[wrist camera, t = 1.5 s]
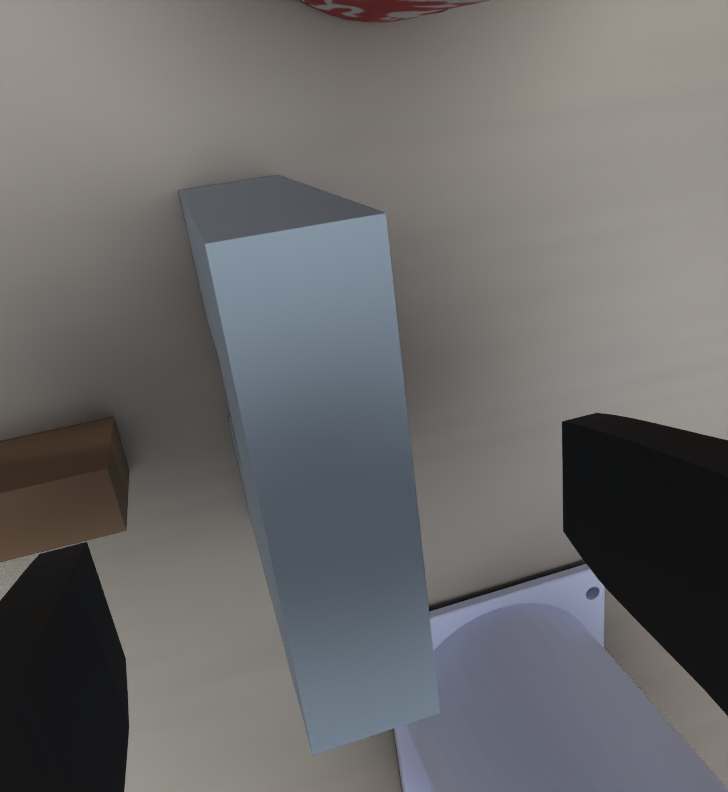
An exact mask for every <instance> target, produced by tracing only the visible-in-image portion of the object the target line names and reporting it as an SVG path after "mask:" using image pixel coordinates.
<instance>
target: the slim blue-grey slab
mask: <svg viewBox="0 0 728 792" xmlns="http://www.w3.org/2000/svg"><path fill="white" fill-rule="evenodd" d="M178 191H179V196H180V200H181V205H182V209H183V214H184V218H185V223H186V228H187V232H188V237H189V241H190V246H191V250H192V255H193V260H194V264H195V269H196V273H197V278H198V282H199V287H200V292H201V296H202V301H203V305H204V310H205V314H206V318H207V322H208V325H209V328H210V331H211V334H212V338H213V341H214V344H215V347H216V351H217V354H218V359H219V363H220V368H221V372H222V377H223V382H224V386H225V391H226V395H227V400H228V405H229V409H230V414H231V416H230V417H228V419H229V424H230V428H231V433H232V438H233V442H234V447H235V451H236V456H237V460H238V465H239V470H240V474H241V479H242V483H243V488H244V492H245V497H246V501H247V506H248V511H249V515H250V519H251V523H252V527H253V530H254V534H255V538H256V542H257V546H258V549H259V553H260V557H261V561H262V565H263V568H264V572H265V576H266V580H267V584H268V587H269V591H270V595H271V599H272V603H273V606H274V610H275V614H276V618H277V622H278V625H279V629H280V633H281V637H282V641H283V644H284V648H285V652H286V656H287V660H288V663H289V667H290V671H291V675H292V679H293V682H294V686H295V690H296V694H297V698H298V701H299V705H300V709H301V713H302V717H303V720H304V724H305V728H306V732H307V736H308V739H309V743H310V747H311V751H312V755H313V756H314V755H317V754H320V753H323V752H326V751H329V750H332V749H335V748H338V747H341V746H344V745H347V744H349V743H352V742H355V741H358V740H361V739H364V738H367V737H370V736H373V735H376V734H379V733H382V732H385V731H388V730H391V729H394V728H397V727H400V726H403V725H406V724H409V723H412V722H415V721H418V720H421V719H424V718H427V717H430V716H433V715H436V714H438V713H440V708H439V699H438V690H437V681H436V672H435V662H434V653H433V644H432V635H431V625H430V616H429V607H428V598H427V589H426V579H425V570H424V561H423V552H422V542H421V533H420V524H419V515H418V505H417V496H416V487H415V478H414V469H413V459H412V450H411V441H410V432H409V422H408V413H407V404H406V395H405V386H404V376H403V367H402V358H401V349H400V339H399V330H398V321H397V312H396V303H395V293H394V284H393V275H392V266H391V256H390V247H389V238H388V229H387V220H386V213H384V212H382V211H379V210H376V209H373V208H370V207H367V206H365V205H362V204H359V203H356V202H353V201H351V200H348V199H345V198H342V197H339V196H336V195H334V194H331V193H328V192H325V191H322V190H320V189H317V188H314V187H311V186H308V185H305V184H303V183H300V182H297V181H294V180H291V179H288V178H286V177H283V176H280V175H275V176H268V177H262V178H255V179H249V180H242V181H236V182H229V183H223V184H216V185H209V186H203V187H196V188H190V189H183V190H178Z"/></svg>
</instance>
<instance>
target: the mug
mask: <svg viewBox="0 0 728 792" xmlns="http://www.w3.org/2000/svg"><path fill="white" fill-rule="evenodd" d="M302 1H304V2H305V3H307V4H309V5H311V6H313V7H315V8H317V9H319V10H321V11H323V12H326V13H328V14H330V15H334V16H338V17H342V18H346V19H350V20H357V21H364V22H388V21H397V20H404V19H410V18H414V17H418V16H422V15H426V14H434V13H440V12H444V11H446V10H448V9H450V8H456V7H460V6H465V5H470V4H475V3H479V2H484V1H488V0H302Z"/></svg>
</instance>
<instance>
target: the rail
mask: <svg viewBox="0 0 728 792" xmlns="http://www.w3.org/2000/svg"><path fill="white" fill-rule="evenodd" d="M128 487H129V469H128V466H127V462H126V459H125V455H124V452H123V448H122V445H121V441H120V438H119V435H118V431H117V428H116V424H115V421H114V417H111V418H107V419H102V420H98V421H93V422H88V423H84V424H79V425H75V426H70V427H65V428H61V429H56V430H52V431H47V432H42V433H38V434H33V435H29V436H24V437H20V438H15V439H10V440H6V441H1V442H0V562H3V561H7V560H11V559H15V558H19V557H23V556H27V555H31V554H35V553H39V552H43V551H47V550H51V549H55V548H59V547H63V546H67V545H71V544H75V543H78V542H82V541H86V540H90V539H94V538H98V537H102V536H106V535H110V534H114V533H118V532H122V531H126V526H127V506H128Z"/></svg>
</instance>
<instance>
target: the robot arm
mask: <svg viewBox="0 0 728 792" xmlns="http://www.w3.org/2000/svg"><path fill="white" fill-rule="evenodd" d="M562 457H563V531H564V533H565V534H566V536H567V537H568V539H569V540H570V541H571V543H572V544H573V546H574V547H575V549H576V550H577V552H578V553H579V554H580V556H581V557H582V559H583V560H584V561H585V563H586V564H584V565H581V566H577V567H574V568H571V569H567V570H564V571H561V572H558V573H554V574H551V575H548V576H544V577H541V578H538V579H535V580H531V581H528V582H525V583H521V584H518V585H515V586H512V587H508V588H505V589H502V590H498V591H495V592H492V593H488V594H485V595H482V596H479V597H475V598H472V599H469V600H465V601H462V602H459V603H456V604H452V605H449V606H446V607H442V608H439V609H436V610H433V611H429V616H430V625H431V635H432V644H433V653H434V662H435V672H436V681H437V690H438V699H439V708H440V713H438V714H436V715H433V716H430V717H427V718H424V719H421V720H418V721H415V722H412V723H409V724H406V725H403V726H400V727H397V728H394V735H395V742H396V748H397V755H398V762H399V769H400V776H401V783H402V790H403V792H728V789H727V787H726V786H725V785H724V784H723V783H722V782H721V781H720V780H719V778H718V777H717V776H716V775H715V774H714V773H713V772H712V770H711V769H710V768H709V767H708V766H707V765H706V764H705V762H704V761H703V760H702V759H701V758H700V757H699V756H698V755H697V753H696V752H695V751H694V750H693V749H692V748H691V747H690V745H689V744H688V743H687V742H686V741H685V740H684V739H683V737H682V736H681V735H680V734H679V733H678V732H677V731H676V730H675V728H674V727H673V726H672V725H671V724H670V723H669V722H668V720H667V719H666V718H665V717H664V716H663V715H662V714H661V712H660V711H659V710H658V709H657V708H656V707H655V706H654V705H653V703H652V702H651V701H650V700H649V699H648V698H647V697H646V695H645V694H644V693H643V692H642V691H641V690H640V689H639V687H638V686H637V685H636V684H635V683H634V682H633V681H632V680H631V678H630V677H629V676H628V675H627V674H626V673H625V672H624V670H623V669H622V668H621V667H620V666H619V665H618V664H617V662H616V661H615V660H614V659H613V658H612V657H611V656H610V655H609V653H608V652H607V651H606V650H605V649H604V601H605V588H606V589H607V590H608V591H609V592H610V593H611V594H612V595H613V596H614V597H615V598H616V599H617V600H618V601H619V602H620V603H621V604H622V605H623V606H624V608H625V609H626V610H627V611H628V612H629V613H630V614H631V615H632V616H633V617H634V618H635V619H636V620H637V621H638V622H639V623H640V624H641V625H642V626H643V627H644V628H645V629H646V630H647V631H648V632H649V633H650V634H651V635H652V636H653V637H654V638H655V639H656V641H657V642H658V643H659V644H660V645H661V646H662V647H663V648H664V649H665V650H666V651H667V652H668V653H669V654H670V655H671V656H672V657H673V658H674V659H675V660H676V661H677V662H678V663H679V664H680V665H681V666H682V667H683V668H684V669H685V670H686V671H687V672H688V673H689V674H690V675H691V676H692V677H693V678H694V679H695V680H696V682H697V683H698V684H699V685H700V686H701V687H702V688H703V689H704V690H705V691H706V692H707V693H708V694H709V695H710V697H711V698H712V699H713V700H714V701H715V702H716V703H717V704H718V705H719V707H720V708H721V709H722V710H723V711H724V712H725V713H726V714H727V716H728V440H723V439H719V438H715V437H711V436H706V435H702V434H698V433H694V432H690V431H685V430H681V429H677V428H673V427H669V426H664V425H660V424H656V423H651V422H647V421H642V420H638V419H633V418H628V417H623V416H617V415H610V414H602V413H594V414H590V415H586V416H582V417H578V418H575V419H571V420H567V421H563V422H562ZM590 588H591V590H590V591H588V590H589V589H590ZM587 591H588V592H587ZM128 734H129V715H128V691H127V674H126V658H125V655H124V652H123V649H122V646H121V643H120V640H119V637H118V634H117V631H116V628H115V625H114V622H113V619H112V616H111V613H110V610H109V607H108V604H107V601H106V598H105V595H104V592H103V589H102V586H101V583H100V580H99V577H98V574H97V571H96V568H95V565H94V562H93V559H92V556H91V553H90V550H89V547H88V544H87V542H85V543H81V544H77V545H74V546H70V547H66V548H62V549H58V550H54V551H50V552H46V553H42V554H39V555H38V556H37V558H36V559H35V560H34V561H33V562H32V563H31V564H30V565H29V566H28V568H27V569H26V570H25V571H24V572H23V574H22V575H21V576H20V577H19V579H18V580H17V581H16V582H15V583H14V585H13V586H12V587H11V588H10V590H9V591H8V592H7V593H6V594H5V596H4V597H3V598H2V599H1V601H0V792H124V787H125V774H126V761H127V748H128Z"/></svg>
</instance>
